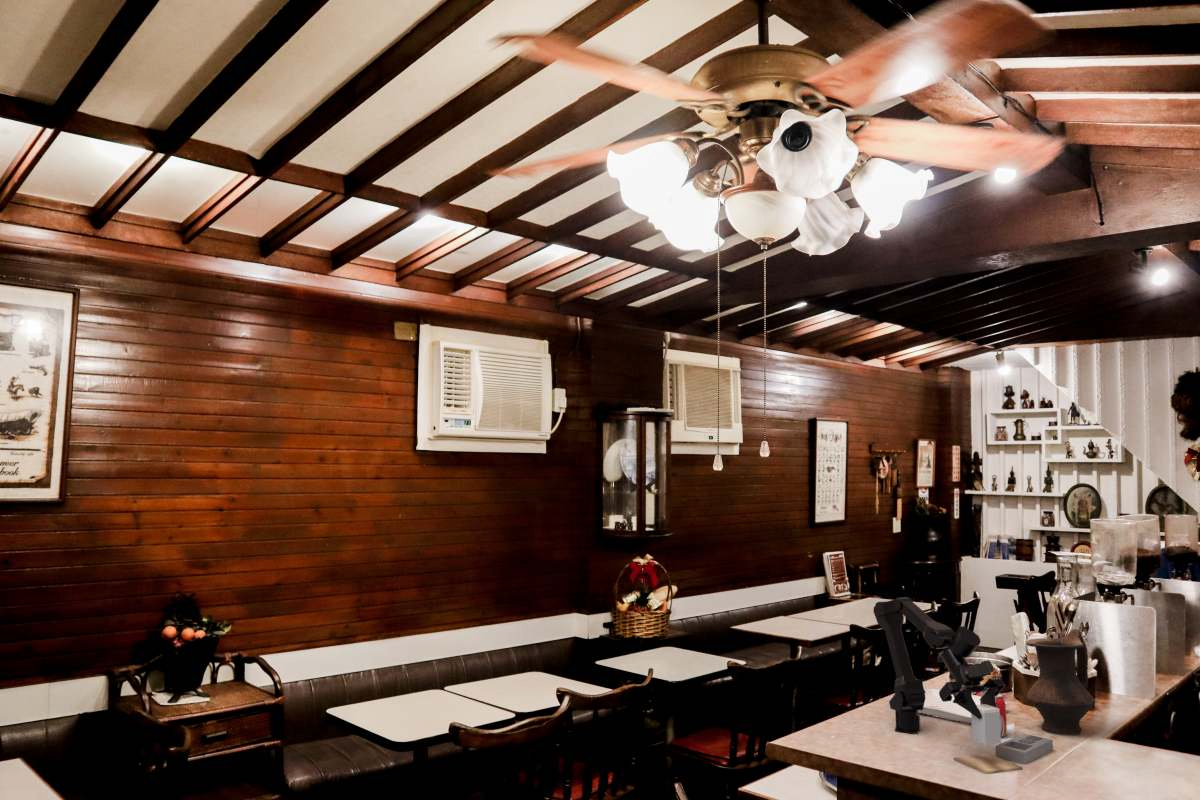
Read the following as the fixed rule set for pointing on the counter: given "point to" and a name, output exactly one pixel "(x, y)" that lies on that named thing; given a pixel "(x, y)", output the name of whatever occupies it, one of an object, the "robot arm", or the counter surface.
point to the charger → (986, 725)
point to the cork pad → (987, 763)
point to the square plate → (947, 707)
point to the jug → (1061, 682)
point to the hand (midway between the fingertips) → (989, 717)
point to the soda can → (1001, 713)
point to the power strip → (1024, 748)
